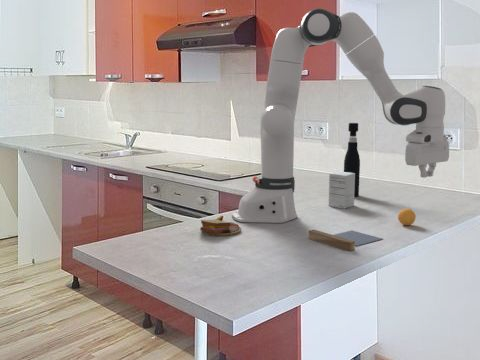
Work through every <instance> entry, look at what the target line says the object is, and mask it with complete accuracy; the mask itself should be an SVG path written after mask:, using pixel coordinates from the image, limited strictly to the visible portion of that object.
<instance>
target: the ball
mask: <svg viewBox="0 0 480 360" xmlns="http://www.w3.org/2000/svg"><path fill="white" fill-rule="evenodd" d="M397 219H398V221H399V223H400V224H401V225H403V226H411V225H413V224H414V223H415V221H416V214H415V211H414V210H412V209H410V208H403V209H401V210H400V211H399V213H398V216H397Z"/></svg>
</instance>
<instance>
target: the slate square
mask: <svg viewBox="0 0 480 360" xmlns="http://www.w3.org/2000/svg"><path fill="white" fill-rule="evenodd" d="M333 235H335V236H338V237H342V238H345V239H349V240H352V241H355V247H359V246H363V245H367V244H370V243H374V242H377V241H378V242H379V241H381V240H383V238H381V237H378V236H375V235H371V234H368V233H367V234H366V233H363V232H359V231H355V230H348V231H343V232H339V233H335V234H333Z"/></svg>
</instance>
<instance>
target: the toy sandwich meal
mask: <svg viewBox="0 0 480 360" xmlns="http://www.w3.org/2000/svg"><path fill="white" fill-rule="evenodd" d="M200 223H201V227H200V229H199V230H200V231H202V232H203V234H205V235H208V236H212V237H230V236H231V237H232V236H235V235H238V234H239V233H241V231H242V227H240V225H239V224H237V223H235V222H232V221H225V220H224V215H220V216H219V217H217V218H215V219H200Z"/></svg>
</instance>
